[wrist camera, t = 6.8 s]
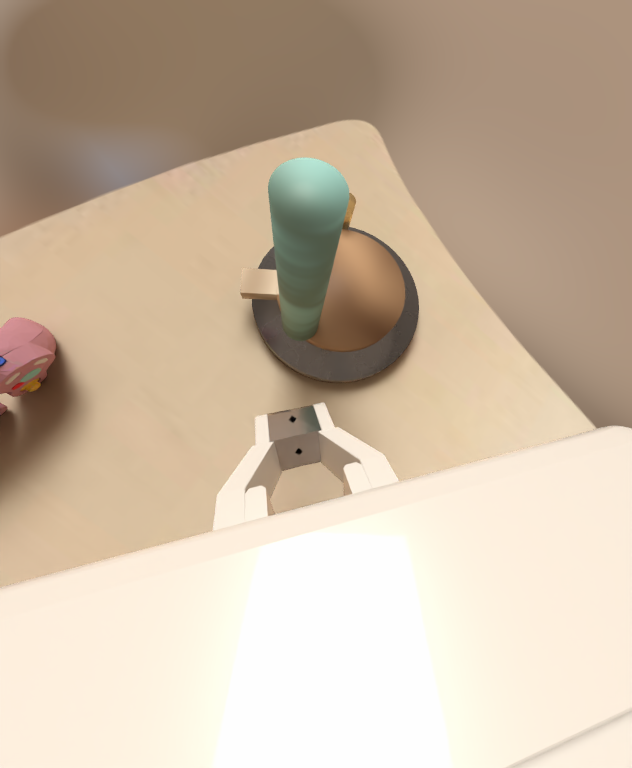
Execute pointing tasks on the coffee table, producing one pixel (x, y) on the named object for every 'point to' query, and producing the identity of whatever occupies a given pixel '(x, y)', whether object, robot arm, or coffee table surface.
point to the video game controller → (24, 356)
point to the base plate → (329, 362)
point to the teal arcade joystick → (324, 264)
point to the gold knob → (349, 212)
